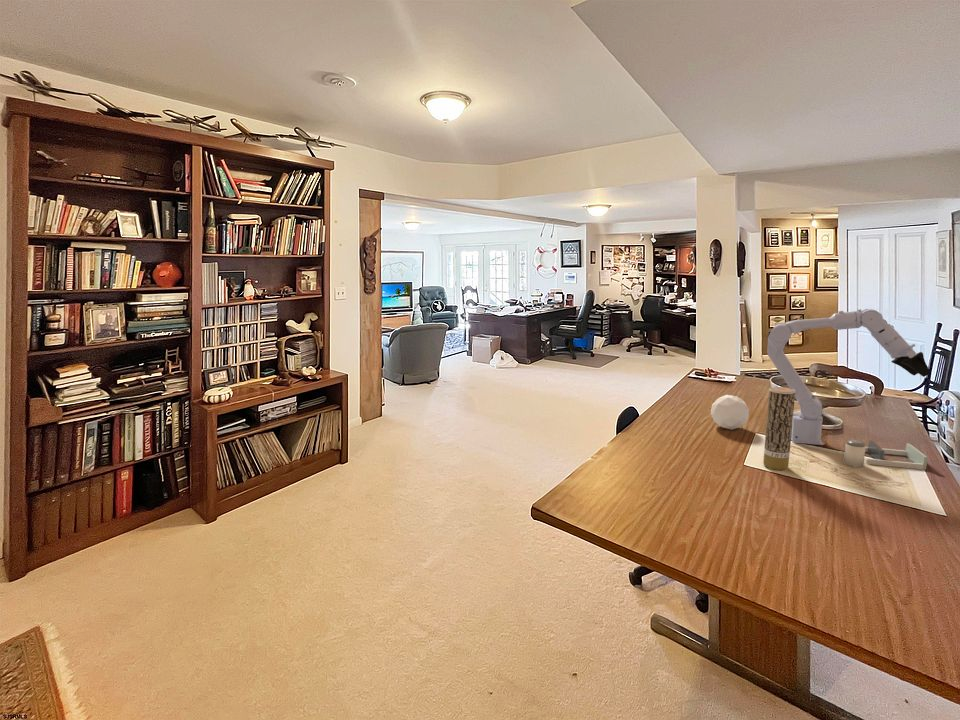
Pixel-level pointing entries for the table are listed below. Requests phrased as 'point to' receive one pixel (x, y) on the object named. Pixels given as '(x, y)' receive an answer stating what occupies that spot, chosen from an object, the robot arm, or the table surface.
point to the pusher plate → (875, 450)
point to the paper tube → (779, 427)
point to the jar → (854, 453)
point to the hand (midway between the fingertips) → (922, 374)
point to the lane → (910, 452)
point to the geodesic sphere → (729, 412)
